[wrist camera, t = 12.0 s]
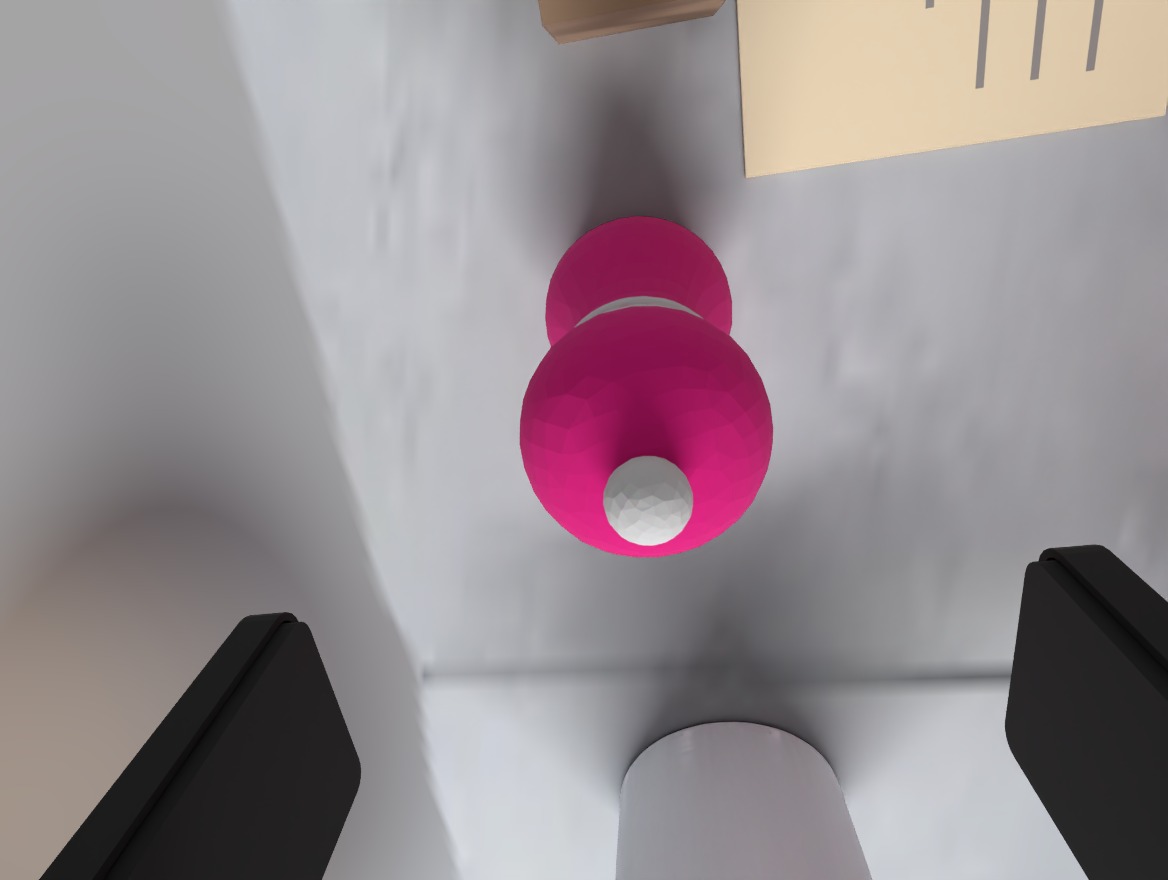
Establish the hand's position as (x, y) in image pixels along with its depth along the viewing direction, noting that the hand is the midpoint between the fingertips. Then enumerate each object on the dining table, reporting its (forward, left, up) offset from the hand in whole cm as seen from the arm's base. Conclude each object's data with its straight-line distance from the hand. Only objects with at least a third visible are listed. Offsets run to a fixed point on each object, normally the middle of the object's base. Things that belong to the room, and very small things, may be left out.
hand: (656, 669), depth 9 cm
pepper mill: (0, 0, -24) cm, 24 cm away
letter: (-13, -10, -24) cm, 29 cm away
